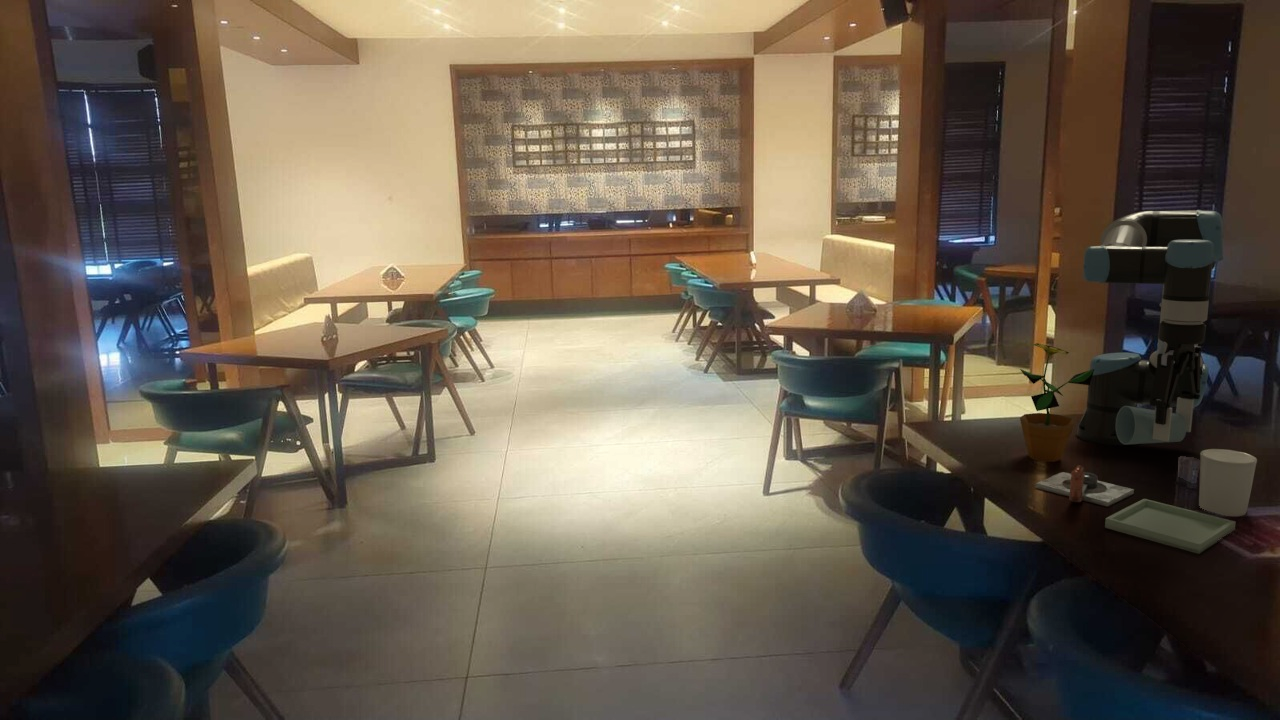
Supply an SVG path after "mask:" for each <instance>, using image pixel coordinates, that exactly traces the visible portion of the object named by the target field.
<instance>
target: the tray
mask: <svg viewBox="0 0 1280 720" xmlns="http://www.w3.org/2000/svg"><path fill="white" fill-rule="evenodd" d="M1104 524H1105V525H1104V528H1105V529H1108V530H1111V531H1115V532H1119V533H1123V534H1127V535H1130V536H1133V537H1137V538H1141V539H1144V540H1148V541H1152V542H1154V543H1159V544H1162V545H1166V546H1170V547H1172V548H1177V549H1181V550H1184V551H1188V552H1190V553H1194V554H1198V555H1200V554H1201V553H1203V552H1204V551H1205V550H1208V549H1209V548H1210V547H1212V546H1214V545H1215V544H1216V543H1218V542H1219V541H1218V539H1220V538H1222V537H1224V536H1226V535H1227V534H1229V533H1230V532H1232V531H1233V530H1236V521H1235V520H1230V519H1227V518H1223V517H1218V516H1215V515H1211V514H1206V513H1202V512H1198V511H1195V510H1190V509H1187V508H1183V507H1179V506H1175V505H1170V504H1168V503H1167V504H1166V503H1163V502H1160V501H1156V500H1152V499H1151V500H1150V499H1148V498H1143V499H1141V500H1139V501H1137V502H1135V503H1132V504H1131V505H1129V506H1126V507H1124V508H1122V509H1121V510H1119V511H1117V512H1115V513H1113V514H1111V515H1109V516H1108V517H1106V518H1105V522H1104ZM1233 532H1234V531H1233ZM1233 532H1232V533H1233ZM1230 534H1231V533H1230ZM1230 534H1229V535H1230ZM1227 536H1228V535H1227ZM1227 536H1226V537H1227ZM1224 538H1225V537H1224ZM1222 539H1223V538H1222ZM1217 541H1218V542H1217Z"/></svg>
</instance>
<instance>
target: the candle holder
mask: <svg viewBox="0 0 1280 720" xmlns="http://www.w3.org/2000/svg"><path fill="white" fill-rule="evenodd" d="M1199 457H1200V459H1199V461H1200V464H1199V488H1198V490H1199V491H1198V494H1199V495H1198V507H1199V506H1200V507H1199V508H1200V509H1201V508H1202V509H1201V510H1203V509H1204V510H1203V511H1205V510H1207V511H1211V512H1215V513H1218V514H1221V515H1220V516H1224V515H1225V516H1224V517H1242V516H1244V515H1246V514H1247V511H1248V507H1249V502H1250V497H1251V491H1252V487H1253V482H1254V477H1255V472H1256V466H1257V463H1258V459H1257V457H1255V456H1254V455H1251V454H1249V453H1246V452H1243V451H1238V450H1233V449H1223V448H1222V449H1221V448H1210V449H1209V448H1208V449H1204V450H1202V451H1200V452H1199ZM1207 511H1206V512H1207ZM1218 514H1217V515H1218Z"/></svg>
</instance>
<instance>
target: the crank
mask: <svg viewBox="0 0 1280 720" xmlns="http://www.w3.org/2000/svg"><path fill="white" fill-rule="evenodd" d="M1084 470H1085V469H1084V466H1083V465H1079V464H1078V465H1076V466H1075V468H1074V469H1073V470H1071V471H1070V472H1071V473H1070V474H1071V483H1070V496H1068V498H1069V499H1068V500H1069V501H1070V502H1074V503H1081V502H1082V501H1083V500H1082V499H1083V497H1084V495H1085V494H1086V492H1087V490H1088V489H1095V488H1097V480H1098V481H1099V479H1098V477H1099V475H1097V474H1095V473H1093V472H1088V471H1084Z"/></svg>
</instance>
